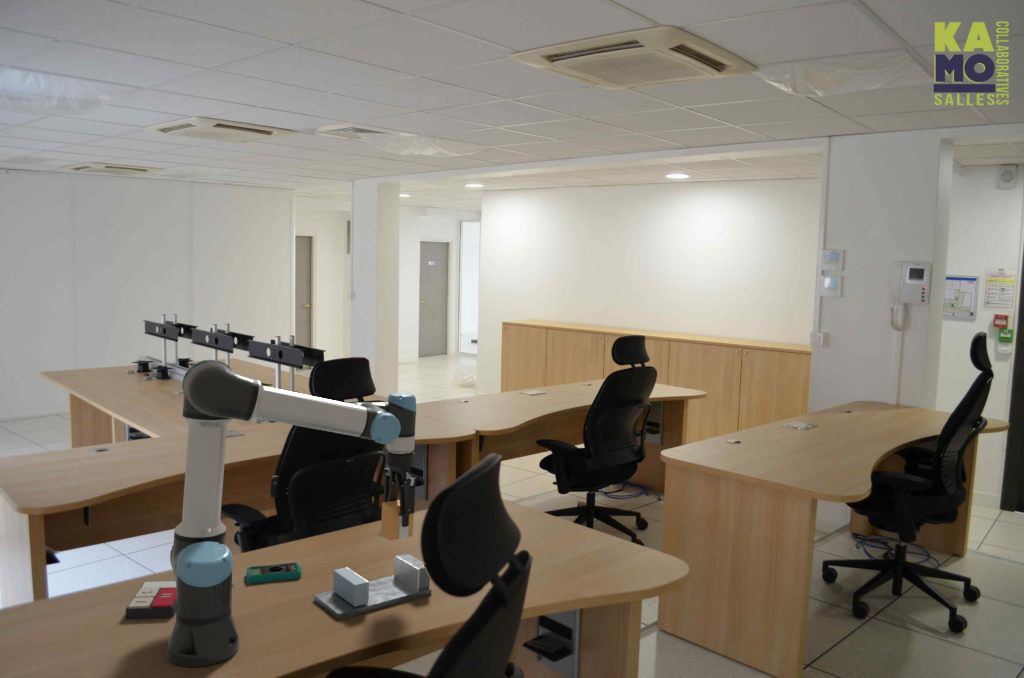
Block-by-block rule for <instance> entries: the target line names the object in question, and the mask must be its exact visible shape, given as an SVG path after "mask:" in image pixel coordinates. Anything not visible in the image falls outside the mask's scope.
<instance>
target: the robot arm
mask: <svg viewBox="0 0 1024 678" xmlns="http://www.w3.org/2000/svg"><path fill="white" fill-rule="evenodd" d="M181 386H182V387H181V388H182V391H183V404H182V418H183V419H184V420H185V421H186V423H188V429H187V430H188V431H187V432H188V433H187V446H186V457H185V460H186V462H185V473H184V474H185V475H184V486H183V501H182V502H183V503H182V514H181V515H182V517H181V522H180V523H179V524H178V525H176V527H174V533H173V544H172V546H171V550H170V555H169V557H170V559H169V560H170V566H171V568H172V571H173V574H174V581H176V591H177V597H176V614H175V616H176V619H175V623H174V625H173V629H172V632H171V634H170V636H169V640H168V643H167V650H166V651H167V652H166V653H167V659H168V661H169V662H171V663H172V664H174V665H176V666H181V667H188V668H189V667H190V668H197V667H206V666H212V665H216V664H219V663H222V662H224V661H226V660H228V659H230V658H231V657H233V656H234V655H235V654H236V653H237V652H238V651H239V649H240V635H239V632H238V629H237V627H236V623H235V620H234V617H233V615H232V610H233V609H232V605H233V599H232V598H233V597H232V596H233V595H232V594H233V569H234V559H233V552H232V551H231V549H230V548H229V546H227V545H226V537H227V536H226V535H227V526H226V525H225V524H224V523H222V521H221V515H222V514H221V512H222V502H223V501H222V500H223V488H224V487H223V486H224V477H225V476H224V474H225V460H226V448H227V447H226V445H227V432H228V431H227V430H228V425H229V424H230V422H232V421H233V420H239V421H245V422H250V421H252V420H254V419H259V420H265V421H271V422H275V423H280V424H286V425H292V426H297V427H303V428H307V429H314V430H317V431H318V430H319V431H320V430H321V431H326V432H330V433H331V432H332V433H335V434H342V435H346V436H347V435H348V436H352V437H357V438H361V439H366V440H370V441H371V440H373V441H374V442H375V443H378V444H381V445H386V450H387V451H386V453H385V454H386V456H385V464H386V465H387V466H388V467H387V468H383V500H382V501H383V502H389V501H396V500H400V511H401V513H399V514H398V515H399V523H398V538H399V539H398V540H401V539H406V538H409V537H408V526H409V515H410V514H413V513H414V514H415V504H416V503H415V501H416V485H417V477H413V476H411V467H412V466H414V464H415V451H414V450H415V441H416V417H417V397H416V396H415V395H414V394H412V393H410V392H393V393H389V394H388V398H387V400H385V401H375V402H374V401H371V402H370V401H369V402H368V401H367V402H358V401H356V402H350V403H347V402H343V401H338V400H333V399H330V398H329V399H328V398H323V397H319V396H313V395H309V394H306V393H305V394H304V393H300V392H295V391H290V390H287V389H286V390H285V389H281V388H275V387H271V386H266V385H263V384H262V382H261V381H260V380H259V379H254V378H251V377H247V376H245V375H242V374H241V373H237V372H235V371H233V369H232V368H231V367H230V366H229V365H228V364H227V363H225V362H223V361H220V360H215V359H205V360H201V361H197V362H196V363H194V364H193V365H191V366H190V367H189V368H188V369H187V371H186V372H185V374H184V376H183V379H182V385H181ZM383 502H382V503H383Z"/></svg>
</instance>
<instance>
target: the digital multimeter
mask: <svg viewBox="0 0 1024 678" xmlns="http://www.w3.org/2000/svg"><path fill="white" fill-rule="evenodd" d="M301 578H302V566H301V565H300V564H299V563H297V562H287V563H279V564H278V563H277V564H270V565H269V564H268V565H257V566H256V565H255V566H249V567H247V568H246V582H247V584H249V585H251V584H253V583H254V584H261V583H260V582H262V583H268V581H270V582H277V580H280V581H288V580H287V579H290V580H299V579H301ZM254 584H253V585H254Z"/></svg>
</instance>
